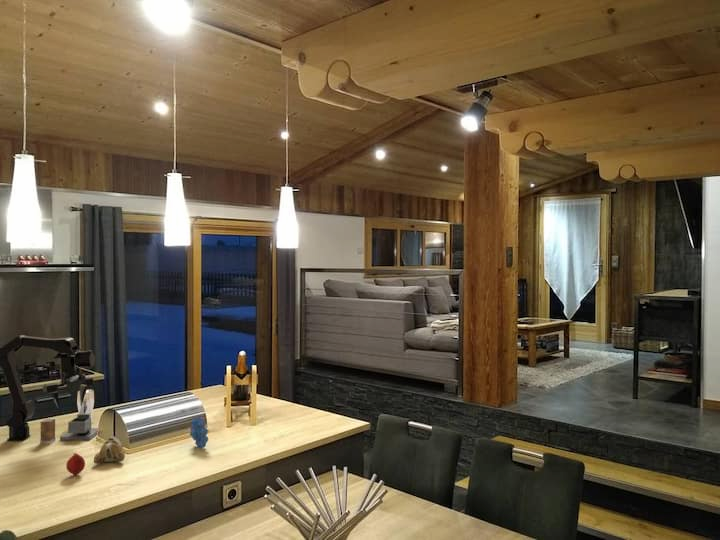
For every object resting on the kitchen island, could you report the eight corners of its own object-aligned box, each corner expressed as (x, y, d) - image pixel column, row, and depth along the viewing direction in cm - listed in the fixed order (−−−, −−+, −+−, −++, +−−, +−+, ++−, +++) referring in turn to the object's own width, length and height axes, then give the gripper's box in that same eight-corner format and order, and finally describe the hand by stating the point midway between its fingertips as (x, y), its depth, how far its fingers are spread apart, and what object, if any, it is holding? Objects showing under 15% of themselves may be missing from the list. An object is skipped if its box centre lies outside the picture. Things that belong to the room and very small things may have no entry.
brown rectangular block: (40, 443, 236) (40, 421, 236) (44, 440, 240) (45, 419, 240) (50, 443, 236) (50, 421, 236) (55, 440, 240) (55, 418, 240)
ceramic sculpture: (127, 430, 227) (123, 444, 212) (127, 452, 228) (123, 467, 213) (98, 432, 224) (92, 447, 209) (98, 454, 224) (92, 470, 210)
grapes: (182, 445, 237) (182, 416, 236) (197, 441, 241) (198, 413, 241) (196, 452, 228) (196, 422, 228) (212, 448, 233) (212, 419, 233)
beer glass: (77, 422, 266) (77, 390, 266) (93, 420, 269) (94, 388, 269) (76, 426, 260) (77, 393, 260) (94, 424, 263) (94, 392, 262)
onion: (80, 470, 207) (80, 448, 207) (87, 475, 204) (88, 452, 204) (63, 475, 203) (63, 452, 203) (71, 479, 199) (71, 456, 199)
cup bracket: (60, 440, 241) (60, 420, 240) (72, 431, 252) (72, 412, 252) (89, 440, 241) (89, 419, 241) (100, 431, 253) (100, 412, 253)
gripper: (50, 374, 231) (52, 413, 231) (98, 366, 244) (100, 403, 244) (41, 371, 239) (43, 408, 239) (88, 363, 252) (90, 399, 252)
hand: (70, 405), depth 243 cm, fingers open, 9 cm apart
